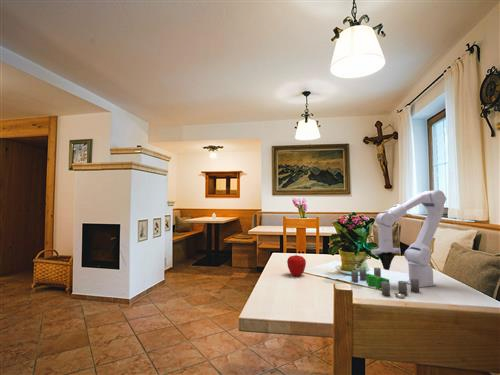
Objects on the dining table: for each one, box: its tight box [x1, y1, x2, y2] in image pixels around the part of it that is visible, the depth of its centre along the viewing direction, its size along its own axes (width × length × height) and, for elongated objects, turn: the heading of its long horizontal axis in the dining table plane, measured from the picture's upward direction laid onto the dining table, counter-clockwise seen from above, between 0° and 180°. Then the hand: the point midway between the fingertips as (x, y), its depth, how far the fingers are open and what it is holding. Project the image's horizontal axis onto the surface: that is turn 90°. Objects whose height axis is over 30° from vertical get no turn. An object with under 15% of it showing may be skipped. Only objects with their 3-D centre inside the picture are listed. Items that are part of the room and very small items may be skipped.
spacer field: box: [350, 267, 421, 297], centre depth 119 cm, size 18×25×5 cm
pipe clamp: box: [366, 273, 390, 290], centre depth 119 cm, size 11×4×5 cm, turn 25°
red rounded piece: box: [286, 254, 307, 277], centre depth 139 cm, size 10×10×11 cm
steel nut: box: [394, 292, 406, 299], centre depth 105 cm, size 3×3×1 cm
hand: (386, 269), depth 121 cm, fingers closed
